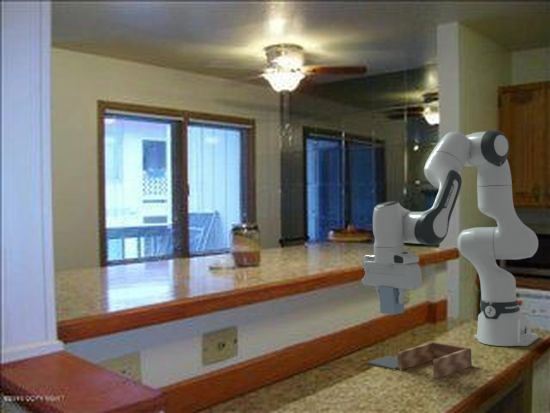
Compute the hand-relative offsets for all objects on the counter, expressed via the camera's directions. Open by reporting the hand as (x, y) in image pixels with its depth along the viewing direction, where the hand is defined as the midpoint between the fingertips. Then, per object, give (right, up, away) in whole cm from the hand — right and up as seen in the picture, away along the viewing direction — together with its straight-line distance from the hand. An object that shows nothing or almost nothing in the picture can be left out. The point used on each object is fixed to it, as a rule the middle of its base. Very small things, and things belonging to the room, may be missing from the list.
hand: (391, 302), depth 169 cm
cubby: (+11, -18, -6) cm, 22 cm away
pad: (0, -19, +1) cm, 19 cm away
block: (0, -3, 0) cm, 3 cm away
